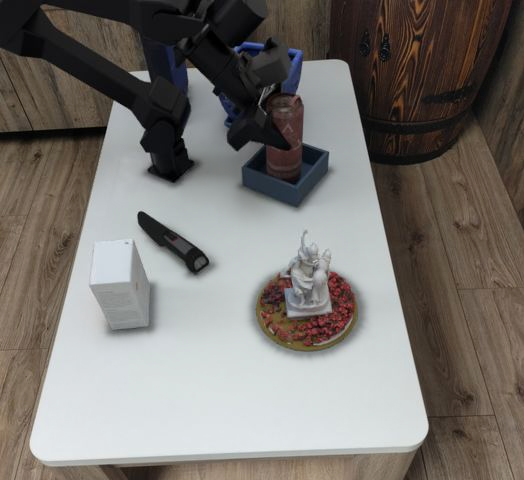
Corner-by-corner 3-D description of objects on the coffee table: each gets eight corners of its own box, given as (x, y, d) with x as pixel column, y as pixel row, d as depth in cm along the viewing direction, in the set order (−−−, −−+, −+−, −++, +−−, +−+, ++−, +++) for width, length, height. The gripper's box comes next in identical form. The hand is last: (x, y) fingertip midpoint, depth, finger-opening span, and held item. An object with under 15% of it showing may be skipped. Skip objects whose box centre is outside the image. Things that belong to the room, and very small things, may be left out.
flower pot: (217, 135, 98) (209, 74, 88) (244, 98, 104) (240, 37, 94) (280, 149, 95) (279, 87, 85) (304, 110, 101) (306, 49, 91)
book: (183, 126, 100) (161, 16, 83) (157, 126, 100) (130, 17, 83) (191, 86, 108) (173, -22, 91) (167, 86, 108) (145, -21, 91)
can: (308, 173, 90) (313, 98, 78) (286, 191, 87) (287, 117, 76) (282, 160, 92) (283, 85, 80) (260, 177, 90) (257, 102, 78)
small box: (115, 289, 78) (93, 240, 69) (151, 285, 78) (133, 236, 69) (111, 331, 73) (87, 285, 65) (149, 327, 73) (130, 281, 65)
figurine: (253, 274, 78) (247, 203, 66) (348, 266, 78) (359, 194, 66) (259, 355, 70) (254, 290, 58) (366, 346, 70) (382, 280, 58)
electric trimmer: (152, 218, 86) (148, 204, 84) (212, 263, 80) (209, 249, 77) (135, 230, 85) (130, 216, 82) (194, 277, 78) (190, 263, 76)
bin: (242, 186, 89) (241, 167, 86) (275, 151, 94) (275, 132, 91) (296, 207, 86) (297, 188, 83) (327, 170, 91) (329, 151, 87)
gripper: (242, 63, 65) (320, 147, 73) (271, -3, 75) (338, 77, 82) (193, 114, 73) (269, 184, 80) (225, 48, 82) (290, 117, 90)
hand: (293, 139), depth 83 cm, fingers closed on can, 5 cm apart
